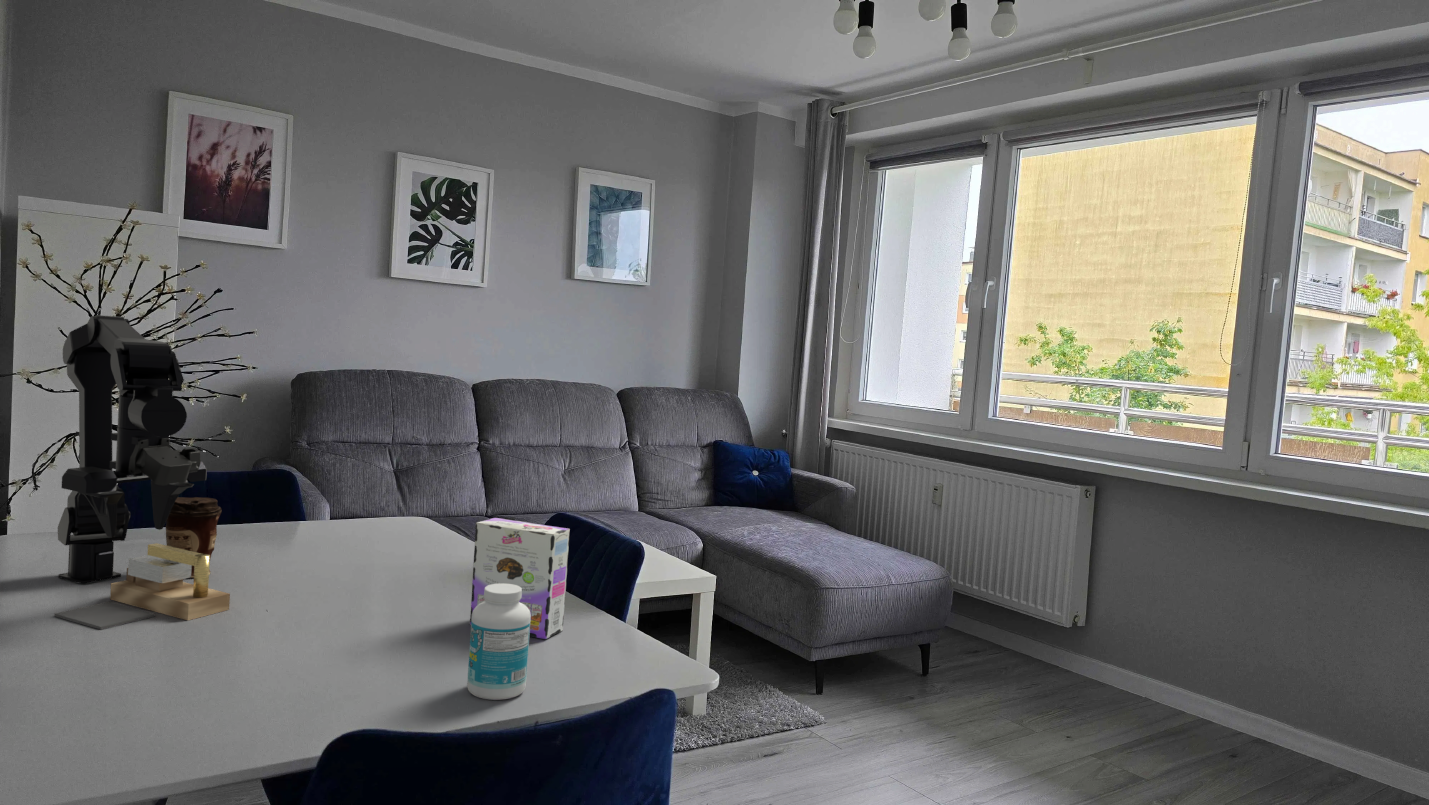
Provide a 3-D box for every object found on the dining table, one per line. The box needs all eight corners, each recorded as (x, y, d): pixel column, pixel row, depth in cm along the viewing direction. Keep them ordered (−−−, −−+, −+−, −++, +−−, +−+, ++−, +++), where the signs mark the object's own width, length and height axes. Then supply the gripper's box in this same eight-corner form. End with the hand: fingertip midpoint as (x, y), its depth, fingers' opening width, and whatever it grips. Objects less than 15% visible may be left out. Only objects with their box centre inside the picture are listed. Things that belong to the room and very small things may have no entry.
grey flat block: (127, 574, 145) (128, 558, 144) (157, 569, 149) (158, 553, 149) (162, 583, 142) (163, 567, 142) (191, 577, 146) (191, 561, 146)
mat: (54, 616, 135) (54, 613, 135) (109, 604, 143) (109, 601, 143) (100, 629, 131) (101, 626, 131) (154, 616, 139) (154, 613, 139)
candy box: (564, 631, 148) (572, 527, 147) (545, 641, 142) (553, 533, 141) (488, 616, 152) (495, 515, 151) (467, 625, 147) (474, 520, 146)
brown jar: (191, 583, 156) (195, 506, 156) (148, 577, 158) (151, 500, 157) (228, 572, 165) (232, 498, 164) (187, 566, 167) (190, 493, 166)
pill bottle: (471, 679, 125) (478, 578, 124) (528, 682, 125) (535, 582, 124) (461, 700, 117) (468, 594, 116) (521, 703, 118) (529, 597, 117)
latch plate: (110, 599, 145) (111, 570, 144) (153, 590, 151) (154, 562, 151) (187, 620, 138) (189, 590, 138) (229, 609, 145) (230, 580, 144)
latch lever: (211, 595, 143) (213, 555, 142) (199, 598, 141) (201, 557, 140) (156, 581, 147) (158, 542, 147) (144, 584, 145) (146, 545, 145)
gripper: (116, 438, 126) (110, 553, 127) (235, 430, 143) (229, 532, 144) (61, 428, 130) (56, 539, 131) (183, 422, 148) (178, 520, 149)
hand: (135, 533), depth 139 cm, fingers open, 7 cm apart
